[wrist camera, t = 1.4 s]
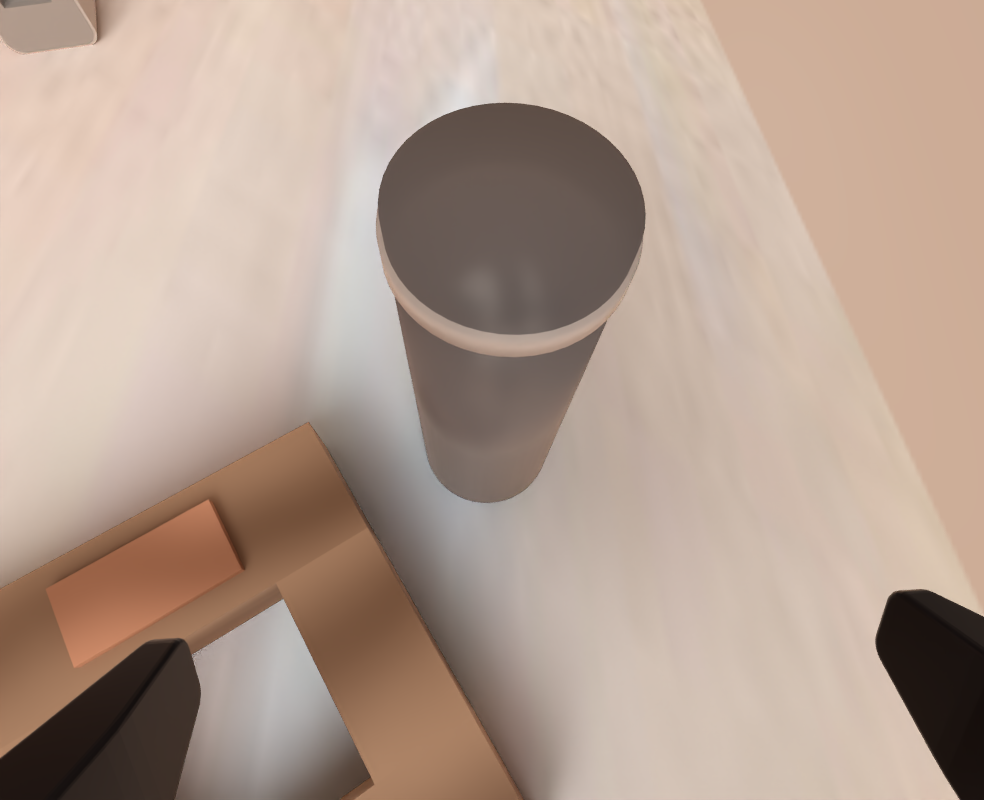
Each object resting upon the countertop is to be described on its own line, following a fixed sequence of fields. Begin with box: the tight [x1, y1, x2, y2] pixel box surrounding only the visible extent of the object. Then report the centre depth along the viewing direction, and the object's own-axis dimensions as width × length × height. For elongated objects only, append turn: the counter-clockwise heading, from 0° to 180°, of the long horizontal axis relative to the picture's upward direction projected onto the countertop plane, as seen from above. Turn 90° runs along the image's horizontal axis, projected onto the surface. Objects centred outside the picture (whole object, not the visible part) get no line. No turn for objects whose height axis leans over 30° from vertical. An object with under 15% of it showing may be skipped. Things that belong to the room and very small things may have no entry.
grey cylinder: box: [376, 103, 645, 503], centre depth 16 cm, size 5×5×13 cm
